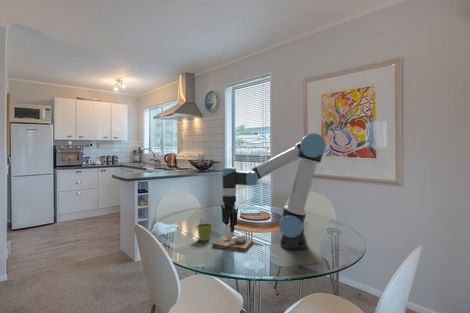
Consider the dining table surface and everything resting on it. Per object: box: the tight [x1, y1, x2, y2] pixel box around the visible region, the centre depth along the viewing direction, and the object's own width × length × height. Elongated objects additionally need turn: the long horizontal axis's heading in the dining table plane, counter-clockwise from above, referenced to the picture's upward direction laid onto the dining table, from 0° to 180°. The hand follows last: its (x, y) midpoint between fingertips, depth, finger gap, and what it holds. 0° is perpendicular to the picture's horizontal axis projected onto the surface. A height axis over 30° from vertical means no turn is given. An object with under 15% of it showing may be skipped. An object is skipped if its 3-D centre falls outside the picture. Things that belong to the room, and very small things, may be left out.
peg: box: [223, 223, 246, 243], centre depth 154 cm, size 15×6×11 cm, turn 127°
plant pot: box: [196, 223, 213, 242], centre depth 166 cm, size 9×9×9 cm
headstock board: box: [211, 235, 254, 252], centre depth 155 cm, size 20×16×2 cm
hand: (229, 236), depth 152 cm, fingers closed on peg, 3 cm apart
